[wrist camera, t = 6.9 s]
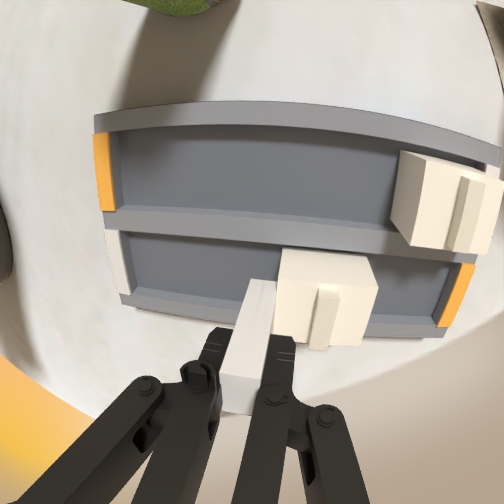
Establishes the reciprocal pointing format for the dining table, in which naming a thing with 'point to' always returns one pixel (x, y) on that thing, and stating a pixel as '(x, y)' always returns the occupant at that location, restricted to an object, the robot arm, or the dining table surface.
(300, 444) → the robot arm
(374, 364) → the dining table surface
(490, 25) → the condiment
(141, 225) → the switch bank
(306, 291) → the tab
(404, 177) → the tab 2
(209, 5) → the beverage can
